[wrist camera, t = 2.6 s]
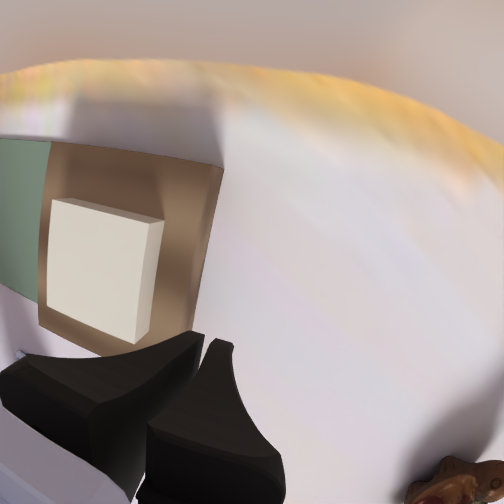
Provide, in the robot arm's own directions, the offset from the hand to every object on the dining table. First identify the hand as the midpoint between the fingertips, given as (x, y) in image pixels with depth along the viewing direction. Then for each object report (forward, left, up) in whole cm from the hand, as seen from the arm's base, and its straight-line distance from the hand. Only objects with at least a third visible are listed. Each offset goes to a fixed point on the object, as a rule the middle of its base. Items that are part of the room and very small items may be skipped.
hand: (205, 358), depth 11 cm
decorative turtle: (-16, -24, -10) cm, 30 cm away
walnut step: (0, +9, -9) cm, 13 cm away
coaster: (0, +9, -6) cm, 11 cm away
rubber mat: (0, +21, -9) cm, 23 cm away
